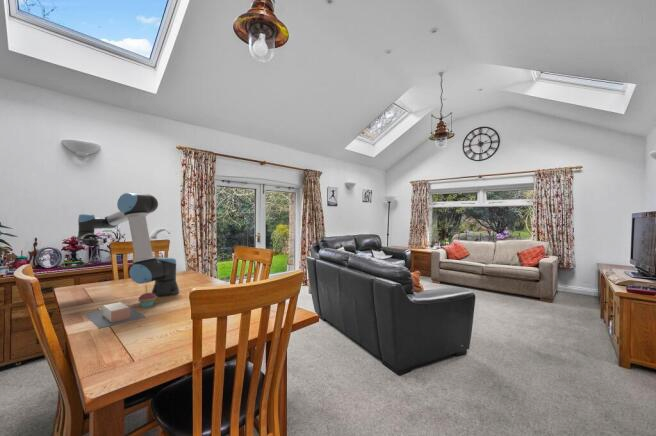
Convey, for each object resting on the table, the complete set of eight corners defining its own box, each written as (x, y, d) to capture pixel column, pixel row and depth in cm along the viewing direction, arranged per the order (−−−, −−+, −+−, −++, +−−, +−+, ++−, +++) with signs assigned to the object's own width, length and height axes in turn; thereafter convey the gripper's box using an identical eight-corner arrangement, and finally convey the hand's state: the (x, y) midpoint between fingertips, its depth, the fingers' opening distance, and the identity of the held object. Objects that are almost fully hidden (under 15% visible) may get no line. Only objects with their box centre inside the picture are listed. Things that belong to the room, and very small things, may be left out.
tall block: (103, 305, 133) (112, 311, 125) (120, 302, 139) (130, 307, 130) (103, 315, 133) (112, 322, 125) (120, 311, 139) (130, 318, 130)
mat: (83, 314, 135) (83, 313, 135) (126, 305, 150) (126, 304, 150) (98, 329, 118) (98, 328, 118) (145, 317, 133) (145, 316, 133)
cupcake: (135, 307, 147) (135, 285, 147) (151, 302, 155) (151, 281, 155) (143, 309, 143) (144, 287, 143) (160, 305, 151) (160, 283, 151)
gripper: (103, 245, 169) (115, 248, 155) (75, 246, 159) (86, 250, 144) (103, 233, 169) (116, 235, 155) (76, 234, 159) (86, 236, 144)
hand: (101, 242), depth 150 cm, fingers closed
